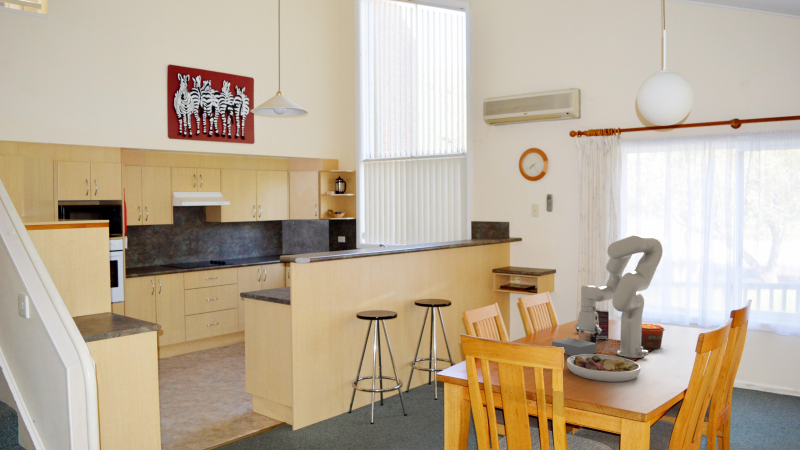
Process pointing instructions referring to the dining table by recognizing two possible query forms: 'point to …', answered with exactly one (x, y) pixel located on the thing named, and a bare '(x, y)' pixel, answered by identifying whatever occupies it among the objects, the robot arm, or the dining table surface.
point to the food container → (651, 336)
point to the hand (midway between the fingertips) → (587, 342)
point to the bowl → (603, 367)
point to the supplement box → (603, 324)
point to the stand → (575, 346)
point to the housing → (586, 336)
